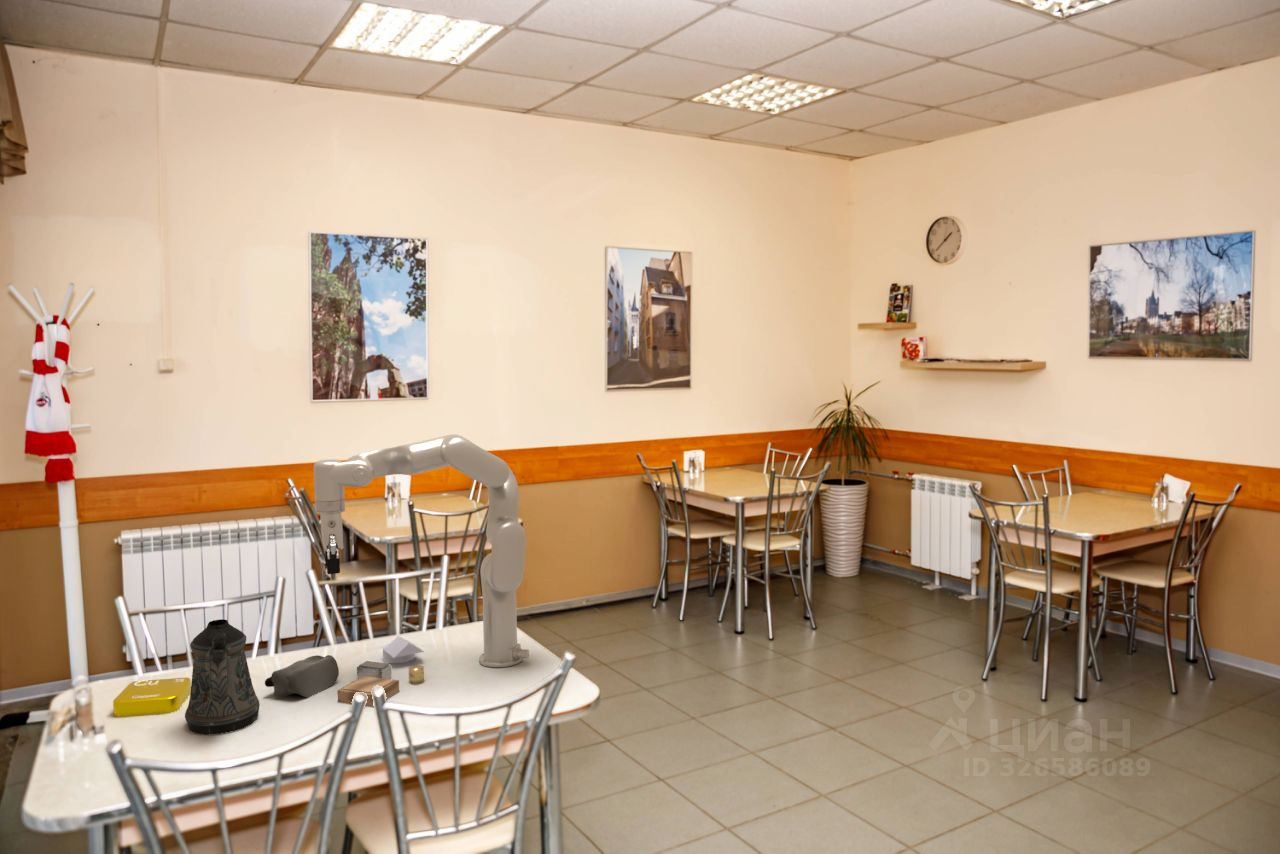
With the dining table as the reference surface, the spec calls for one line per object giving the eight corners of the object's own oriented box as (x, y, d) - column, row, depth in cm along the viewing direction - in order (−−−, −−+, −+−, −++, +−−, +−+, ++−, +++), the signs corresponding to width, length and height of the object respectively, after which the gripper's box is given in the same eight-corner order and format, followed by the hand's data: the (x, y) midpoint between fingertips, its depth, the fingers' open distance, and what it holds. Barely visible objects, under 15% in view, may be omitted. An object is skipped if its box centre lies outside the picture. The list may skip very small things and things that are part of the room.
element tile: (111, 719, 228) (110, 700, 228) (132, 697, 243) (130, 679, 242) (176, 714, 231) (175, 695, 231) (193, 692, 246) (192, 674, 245)
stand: (399, 691, 244) (398, 679, 243) (374, 706, 233) (373, 694, 233) (363, 686, 247) (363, 674, 247) (337, 701, 237) (337, 689, 237)
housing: (391, 679, 253) (391, 663, 253) (382, 684, 249) (381, 668, 249) (367, 675, 256) (366, 660, 256) (357, 681, 252) (356, 665, 252)
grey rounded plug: (313, 674, 257) (312, 647, 256) (345, 680, 253) (344, 652, 252) (263, 697, 240) (261, 668, 240) (296, 704, 236) (295, 674, 235)
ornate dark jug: (239, 703, 237) (234, 607, 235) (279, 722, 224) (274, 621, 222) (173, 723, 224) (167, 623, 222) (211, 745, 212) (206, 638, 210)
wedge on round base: (424, 662, 266) (408, 650, 276) (424, 640, 265) (407, 628, 276) (394, 669, 260) (378, 656, 271) (393, 646, 260) (378, 634, 271)
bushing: (427, 680, 252) (426, 665, 251) (419, 685, 248) (418, 670, 248) (414, 678, 253) (413, 664, 253) (406, 683, 249) (405, 669, 249)
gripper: (347, 510, 240) (349, 575, 241) (342, 500, 256) (345, 561, 257) (316, 512, 237) (319, 578, 238) (314, 502, 253) (316, 563, 255)
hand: (332, 569), depth 248 cm, fingers open, 9 cm apart
